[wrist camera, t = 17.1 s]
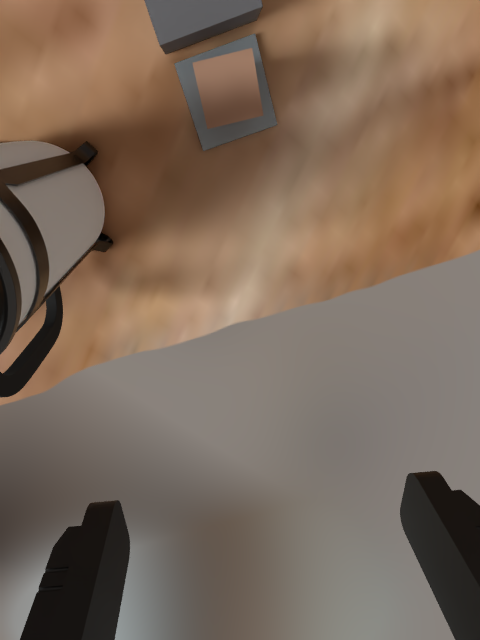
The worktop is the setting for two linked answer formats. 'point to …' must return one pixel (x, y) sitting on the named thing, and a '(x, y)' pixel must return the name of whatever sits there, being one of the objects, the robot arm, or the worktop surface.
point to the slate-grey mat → (190, 88)
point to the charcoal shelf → (198, 19)
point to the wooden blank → (228, 88)
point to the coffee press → (42, 241)
